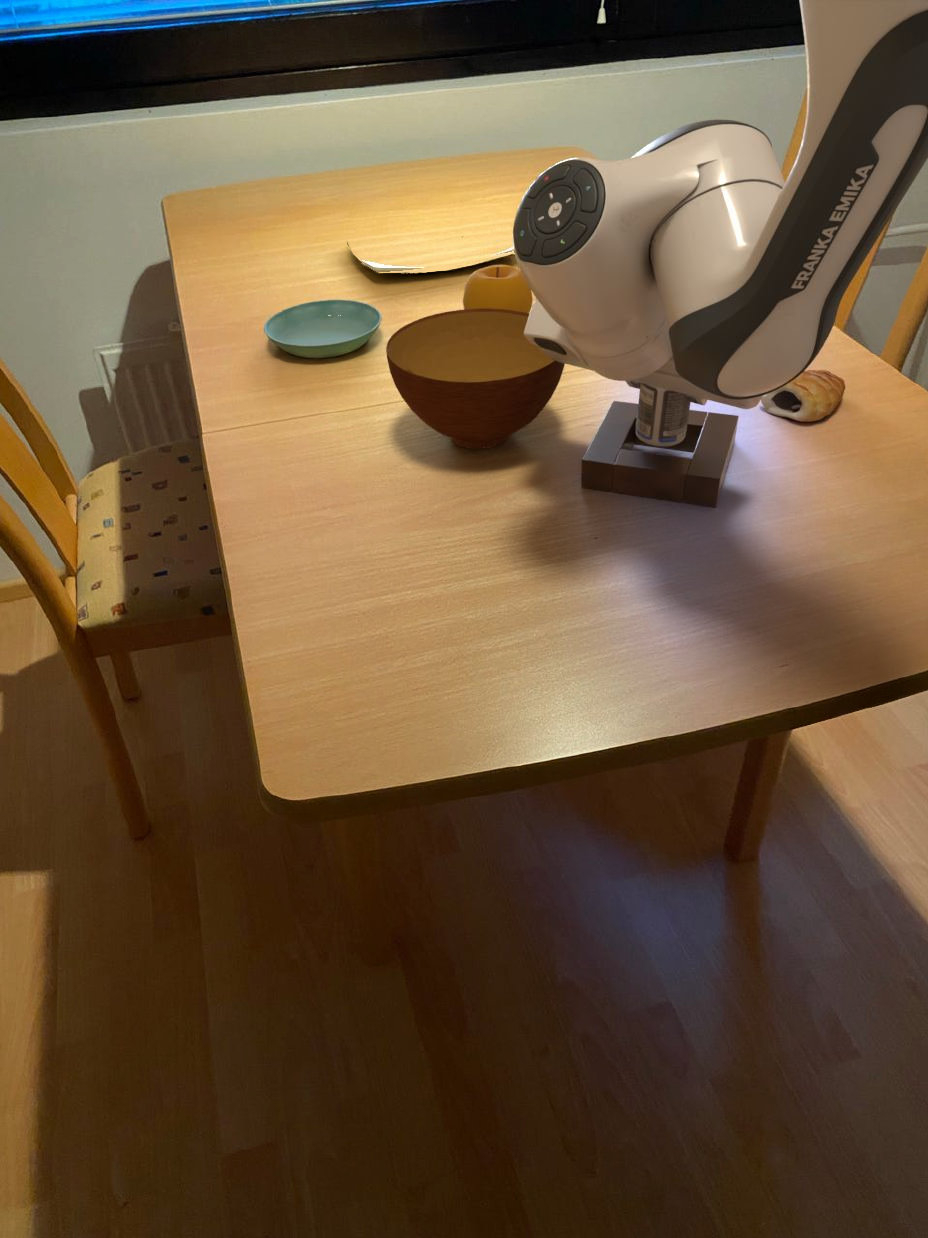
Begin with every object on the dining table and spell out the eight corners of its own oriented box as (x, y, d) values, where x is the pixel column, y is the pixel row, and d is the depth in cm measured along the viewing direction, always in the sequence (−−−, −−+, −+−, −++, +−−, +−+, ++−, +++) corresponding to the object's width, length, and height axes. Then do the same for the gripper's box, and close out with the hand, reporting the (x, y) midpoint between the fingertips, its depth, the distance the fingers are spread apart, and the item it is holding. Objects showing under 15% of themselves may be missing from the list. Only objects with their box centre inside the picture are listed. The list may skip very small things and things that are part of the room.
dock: (734, 442, 93) (738, 415, 91) (715, 507, 84) (720, 479, 82) (611, 426, 97) (612, 400, 95) (580, 487, 88) (581, 459, 86)
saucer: (290, 316, 125) (287, 297, 123) (396, 321, 122) (395, 301, 120) (249, 362, 113) (245, 342, 112) (365, 368, 111) (362, 347, 109)
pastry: (803, 381, 103) (810, 348, 101) (859, 400, 99) (868, 366, 97) (754, 409, 98) (760, 376, 96) (811, 431, 94) (818, 396, 92)
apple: (521, 356, 112) (520, 282, 106) (454, 349, 114) (450, 277, 108) (540, 329, 118) (540, 257, 112) (476, 323, 120) (474, 253, 114)
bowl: (374, 415, 101) (364, 326, 95) (523, 384, 105) (523, 297, 99) (426, 494, 88) (419, 396, 82) (594, 454, 93) (599, 359, 86)
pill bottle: (688, 427, 89) (701, 344, 84) (680, 451, 86) (694, 366, 81) (639, 420, 91) (649, 337, 85) (630, 443, 87) (639, 358, 82)
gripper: (767, 308, 69) (792, 382, 81) (535, 262, 79) (588, 334, 91) (734, 387, 69) (764, 449, 81) (506, 331, 79) (563, 394, 91)
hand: (670, 388), depth 86 cm, fingers closed on pill bottle, 5 cm apart
